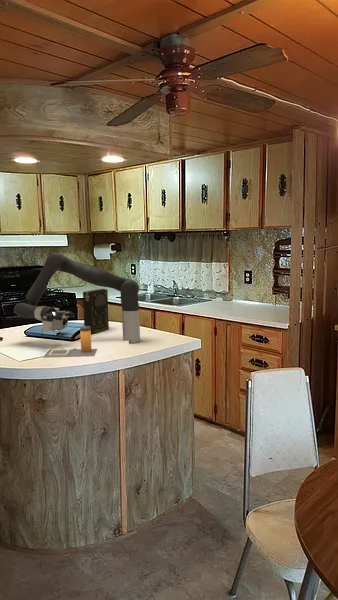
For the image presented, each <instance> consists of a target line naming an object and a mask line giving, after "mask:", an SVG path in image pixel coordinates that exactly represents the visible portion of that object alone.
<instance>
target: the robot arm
mask: <svg viewBox="0 0 338 600" xmlns="http://www.w3.org/2000/svg"><path fill="white" fill-rule="evenodd" d="M57 271H59V272H63V273H66V274H69V275H70V274H71V275H73V276H75V277H76V278H77V279H79V280H82V281H84V282H86V283H88V284H92V285H95V286H96V287H97V286H98V287H102V288H103V287H104V288H110V289H113V290H116V291H119V292H120V305H121V315H122V317H121V318H122V319H121V320H122V322H121V324H122V326H121V327H122V341H124V342H125V341H127V342H128V343H129V344H135V343H141V325H140V324H141V323H140V305H139V304H140V303H139V292H140V285H139V283H138V281H136V280H134V279H132V278H131V279H130V278H126V277H122V276H118V275H115V274H113V273H111V272H109V271H107V270H105V269H103V268H99V267H98V266H94V265H91V264H87V263H83V262H80V261H79V262H78V261H76V260H73V259H71V258H69V257H67V256H65V255H63V254H61V253H58V252H52V253H50V254H48V255H47V257H46V260H45V262H44V264H43V266H42V269H41V271H40V273H39V274H38V276H37V278H36V280H35V281H34V283H33V284H32V286H31V287H30V289H29V290H28V292H27V294H26V295H25V299H26V301H27V302H28V303H24V302H19V303H17V304H15V306H14V308H13V312H14V314H15V315H17V316H18V317H21V318H23V319H26V320H29V319H32V320H38V321H41V322H43V321H48V322H52V321H54V320H60V321H61V320H62V318H65V317H67V318H71V319H72V318H73V319H74V318H75V317H76V315H75V313H74V312H72V311H69V310H61V311H60V310H59V311H56V309H55V308H56V307H53V306H46V305H42V306H39V305H38V303H39V302H40V299H41V298H42V297H43V295H44V293H45V292H46V290H47V287H48V285H49V282H50V280H51V279H52V277H53V276H54V275H55V273H56V272H57ZM62 316H63V317H62Z"/></svg>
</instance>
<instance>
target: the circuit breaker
mask: <svg viewBox="0 0 338 600" xmlns="http://www.w3.org/2000/svg"><path fill="white" fill-rule="evenodd" d="M54 308H55V309H56V311H60V308H59V307H54ZM62 317H63V316H62ZM68 323H69V320H68V317H65V318H62V320H61V321H60V320H54V321H52V322H48V321H42V327H41V332H42V331H55V330H60V331H62V330H64V329H66V328H67V327H68Z"/></svg>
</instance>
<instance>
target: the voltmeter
mask: <svg viewBox="0 0 338 600" xmlns="http://www.w3.org/2000/svg"><path fill="white" fill-rule="evenodd" d="M108 297H109V294H108V289H107V288H99V289H98V288H97V289H92V290H86V291H83V292H82V302H83V303H82V305H83V306H82V307H83V326H90V327H91V335H92V334H97V333H101V332H105V331H107V330H109V329H110V325H109V324H110V322H109V298H108Z"/></svg>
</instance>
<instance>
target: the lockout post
mask: <svg viewBox="0 0 338 600" xmlns="http://www.w3.org/2000/svg"><path fill="white" fill-rule="evenodd" d="M79 331H80V334H79V335H80V349H81V352H91V351H92V350H91V349H92V333H91V327H90V326H84V325H82V326H80V327H79Z"/></svg>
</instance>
